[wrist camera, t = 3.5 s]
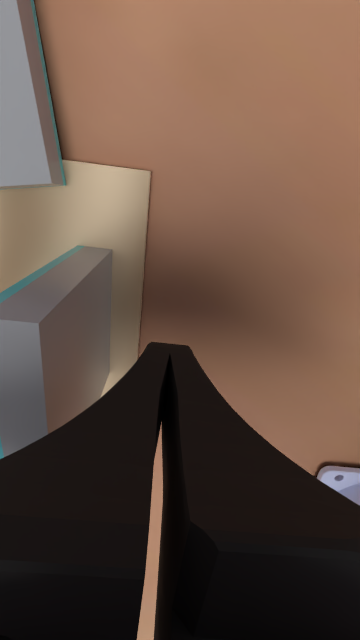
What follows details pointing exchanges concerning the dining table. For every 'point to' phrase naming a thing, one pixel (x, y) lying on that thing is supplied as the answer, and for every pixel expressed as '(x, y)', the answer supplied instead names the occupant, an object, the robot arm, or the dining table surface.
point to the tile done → (25, 104)
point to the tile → (54, 345)
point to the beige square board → (84, 239)
